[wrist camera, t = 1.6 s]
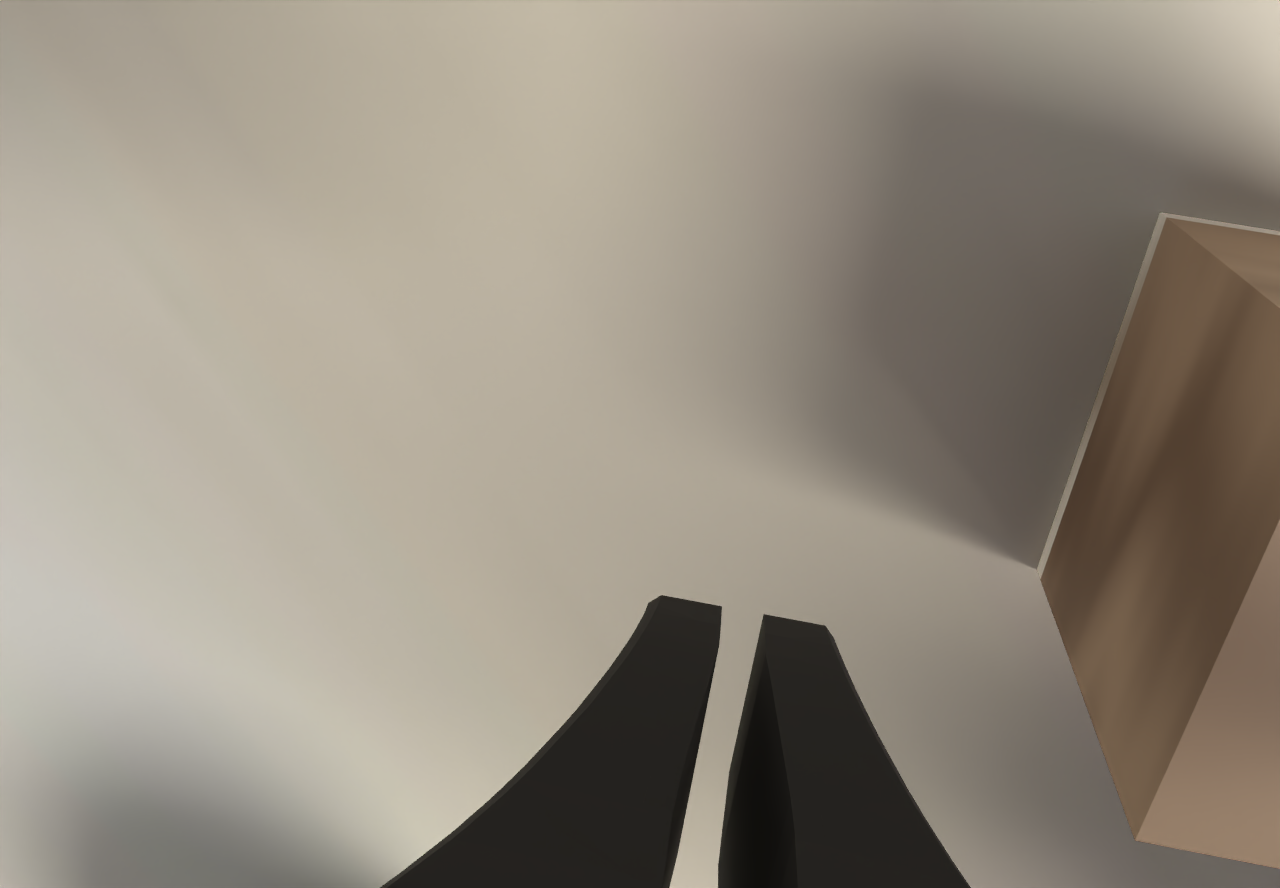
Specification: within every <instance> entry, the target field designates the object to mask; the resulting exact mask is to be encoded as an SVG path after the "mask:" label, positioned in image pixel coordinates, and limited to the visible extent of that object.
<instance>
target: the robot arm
mask: <svg viewBox="0 0 1280 888" xmlns="http://www.w3.org/2000/svg"><path fill="white" fill-rule="evenodd" d="M721 610H722V606H716V605H711V604H706V603H700V602H695V601H690V600H684V599H679V598H673V597H668V596H663V595H661V596H659V597H658V598H656V599H654V600H653V601H651V602H649V603H648V606H647V608H646V611H645V613H644V615H643V617H642V619H641V621H640V623H639V624H638V626H637V628H636V630H635V631H634V633H633V635H632V636H631V638H630V639H629V641H628V642H627V644H626V646H625V647H624V648H623V650H622V651H621V653H620V654H619V656H618V657H617V658H616V660H615V661H614V663H613V664H612V666H611V667H610V668H609V670H608V671H607V672H606V673H605V675H604V676H603V677H602V678H601V680H600V681H599V682H598V683H597V685H596V686H595V687H594V689H593V690H592V691H591V692H590V694H589V695H588V696H587V697H586V699H585V700H584V701H583V702H582V704H581V705H580V706H579V707H578V709H577V710H576V711H575V712H574V713H573V714H572V716H571V717H570V718H569V719H568V720H567V721H566V722H565V723H564V725H563V726H562V727H561V728H560V729H559V730H558V731H557V732H556V733H555V734H554V735H553V736H552V737H551V738H550V740H549V741H548V742H547V743H546V744H545V745H544V746H543V747H542V748H541V749H540V750H539V751H538V752H537V753H536V755H535V756H534V757H533V758H532V759H531V760H530V761H529V762H528V763H527V764H526V765H525V766H524V767H523V768H522V769H521V770H520V771H519V772H518V773H517V774H516V775H515V776H514V777H513V778H512V779H511V780H510V781H509V782H508V783H507V784H506V785H505V786H504V787H503V788H502V789H501V790H499V791H498V792H497V793H496V794H495V795H494V796H493V797H492V798H491V799H490V800H489V801H488V802H486V803H485V804H484V805H483V806H482V807H481V808H480V809H478V810H477V811H476V812H475V813H474V814H473V815H472V816H470V817H469V818H468V819H467V820H466V821H465V822H464V823H462V824H461V825H460V826H459V827H458V828H457V829H455V830H454V831H453V832H452V833H451V834H449V835H448V836H447V837H446V838H444V839H443V840H442V841H440V842H439V843H438V844H437V845H435V846H434V847H433V848H432V849H430V850H429V851H428V852H426V853H425V854H424V855H423V856H421V857H420V858H419V859H417V860H416V861H415V862H414V863H412V864H411V865H410V866H409V867H407V868H406V869H405V870H403V871H402V872H401V873H400V874H398V875H397V876H395V877H394V878H393V879H391V880H390V881H389V882H387V883H386V884H385V885H383V886H382V887H380V888H669V886H670V882H671V878H672V874H673V870H674V866H675V862H676V858H677V853H678V848H679V843H680V838H681V833H682V828H683V823H684V818H685V813H686V808H687V803H688V798H689V793H690V788H691V783H692V778H693V773H694V768H695V763H696V758H697V753H698V748H699V743H700V738H701V733H702V728H703V723H704V718H705V713H706V708H707V703H708V698H709V693H710V688H711V683H712V678H713V673H714V668H715V663H716V658H717V653H718V648H719V640H720V627H721ZM718 888H971V887H970V886H969V885H968V883H967V882H966V880H965V879H964V877H963V876H962V874H961V873H960V871H959V870H958V868H957V867H956V865H955V864H954V862H953V861H952V859H951V858H950V856H949V855H948V853H947V852H946V850H945V849H944V847H943V845H942V844H941V842H940V841H939V839H938V838H937V836H936V834H935V833H934V831H933V830H932V828H931V827H930V825H929V823H928V822H927V820H926V819H925V817H924V815H923V814H922V812H921V810H920V809H919V807H918V805H917V804H916V802H915V800H914V799H913V797H912V795H911V794H910V792H909V790H908V789H907V787H906V785H905V783H904V781H903V780H902V778H901V776H900V774H899V772H898V770H897V769H896V767H895V765H894V763H893V761H892V760H891V758H890V756H889V754H888V752H887V750H886V749H885V747H884V745H883V743H882V741H881V740H880V738H879V736H878V734H877V732H876V730H875V728H874V726H873V724H872V722H871V720H870V718H869V716H868V714H867V712H866V710H865V708H864V706H863V704H862V702H861V699H860V697H859V695H858V693H857V691H856V689H855V687H854V685H853V682H852V680H851V678H850V676H849V674H848V671H847V669H846V667H845V664H844V662H843V660H842V657H841V655H840V653H839V650H838V648H837V645H836V643H835V640H834V638H833V636H832V635H831V633H830V632H829V630H828V629H827V628H826V626H824V625H818V624H813V623H808V622H802V621H797V620H791V619H786V618H781V617H775V616H770V615H765V614H764V616H763V620H762V625H761V629H760V634H759V639H758V643H757V648H756V652H755V657H754V661H753V666H752V671H751V675H750V680H749V684H748V689H747V693H746V698H745V703H744V707H743V712H742V716H741V721H740V725H739V730H738V735H737V739H736V744H735V748H734V753H733V757H732V762H731V767H730V771H729V779H728V787H727V796H726V804H725V812H724V821H723V829H722V838H721V847H720V856H719V864H718Z"/></svg>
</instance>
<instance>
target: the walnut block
mask: <svg viewBox="0 0 1280 888" xmlns="http://www.w3.org/2000/svg"><path fill="white" fill-rule="evenodd" d="M1037 571H1038V574H1039V577H1040V580H1041V582H1042V585H1043V588H1044V591H1045V593H1046V596H1047V599H1048V602H1049V605H1050V607H1051V610H1052V613H1053V616H1054V618H1055V621H1056V624H1057V627H1058V629H1059V632H1060V635H1061V638H1062V640H1063V643H1064V646H1065V649H1066V651H1067V654H1068V657H1069V660H1070V662H1071V665H1072V668H1073V671H1074V674H1075V676H1076V679H1077V682H1078V685H1079V687H1080V690H1081V693H1082V696H1083V698H1084V701H1085V704H1086V707H1087V709H1088V712H1089V715H1090V718H1091V720H1092V723H1093V726H1094V729H1095V731H1096V734H1097V737H1098V740H1099V743H1100V745H1101V748H1102V751H1103V754H1104V756H1105V759H1106V762H1107V765H1108V767H1109V770H1110V773H1111V776H1112V778H1113V781H1114V784H1115V787H1116V789H1117V792H1118V795H1119V798H1120V800H1121V803H1122V806H1123V809H1124V812H1125V814H1126V817H1127V820H1128V823H1129V825H1130V828H1131V831H1132V834H1133V836H1134V839H1135V841H1140V842H1145V843H1150V844H1155V845H1160V846H1165V847H1171V848H1176V849H1181V850H1186V851H1191V852H1196V853H1201V854H1206V855H1211V856H1217V857H1222V858H1227V859H1232V860H1237V861H1242V862H1247V863H1252V864H1258V865H1263V866H1268V867H1273V868H1278V869H1280V231H1276V230H1269V229H1263V228H1257V227H1250V226H1244V225H1238V224H1232V223H1225V222H1219V221H1213V220H1206V219H1200V218H1194V217H1188V216H1181V215H1175V214H1169V213H1162V212H1160V214H1159V217H1158V220H1157V223H1156V225H1155V228H1154V231H1153V234H1152V237H1151V240H1150V243H1149V246H1148V249H1147V251H1146V254H1145V257H1144V260H1143V263H1142V266H1141V269H1140V272H1139V275H1138V278H1137V280H1136V283H1135V286H1134V289H1133V292H1132V295H1131V298H1130V301H1129V304H1128V307H1127V309H1126V312H1125V315H1124V318H1123V321H1122V324H1121V327H1120V330H1119V333H1118V336H1117V338H1116V341H1115V344H1114V347H1113V350H1112V353H1111V356H1110V359H1109V362H1108V365H1107V367H1106V370H1105V373H1104V376H1103V379H1102V382H1101V385H1100V388H1099V391H1098V394H1097V396H1096V399H1095V402H1094V405H1093V408H1092V411H1091V414H1090V417H1089V420H1088V423H1087V425H1086V428H1085V431H1084V434H1083V437H1082V440H1081V443H1080V446H1079V449H1078V452H1077V454H1076V457H1075V460H1074V463H1073V466H1072V469H1071V472H1070V475H1069V478H1068V481H1067V483H1066V486H1065V489H1064V492H1063V495H1062V498H1061V501H1060V504H1059V507H1058V510H1057V512H1056V515H1055V518H1054V521H1053V524H1052V527H1051V530H1050V533H1049V536H1048V539H1047V541H1046V544H1045V547H1044V550H1043V553H1042V556H1041V559H1040V562H1039V565H1038V568H1037Z"/></svg>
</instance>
